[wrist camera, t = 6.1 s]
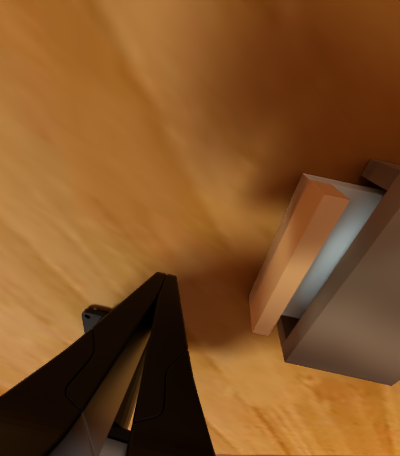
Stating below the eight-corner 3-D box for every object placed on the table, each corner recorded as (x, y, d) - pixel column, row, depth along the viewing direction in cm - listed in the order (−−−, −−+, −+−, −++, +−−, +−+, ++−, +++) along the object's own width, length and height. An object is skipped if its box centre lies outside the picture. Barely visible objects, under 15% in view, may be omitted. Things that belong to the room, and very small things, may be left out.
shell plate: (357, 317, 15) (383, 361, 13) (248, 293, 15) (252, 332, 13) (459, 205, 11) (532, 239, 8) (301, 171, 11) (324, 194, 8)
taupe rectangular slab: (365, 339, 16) (391, 385, 13) (275, 320, 16) (284, 362, 13) (518, 190, 10) (622, 221, 7) (370, 158, 10) (421, 179, 7)
